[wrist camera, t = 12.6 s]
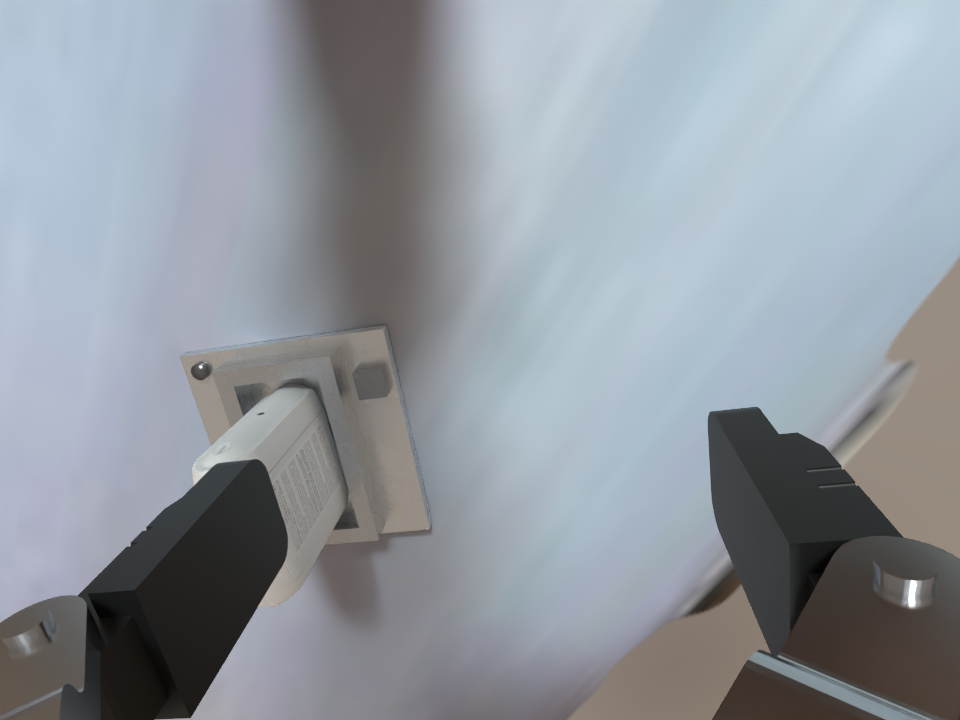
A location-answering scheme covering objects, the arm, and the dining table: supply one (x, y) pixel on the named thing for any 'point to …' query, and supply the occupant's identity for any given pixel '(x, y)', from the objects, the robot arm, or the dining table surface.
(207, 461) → the photo printer
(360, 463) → the plate
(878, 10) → the dining table surface
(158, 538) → the robot arm
